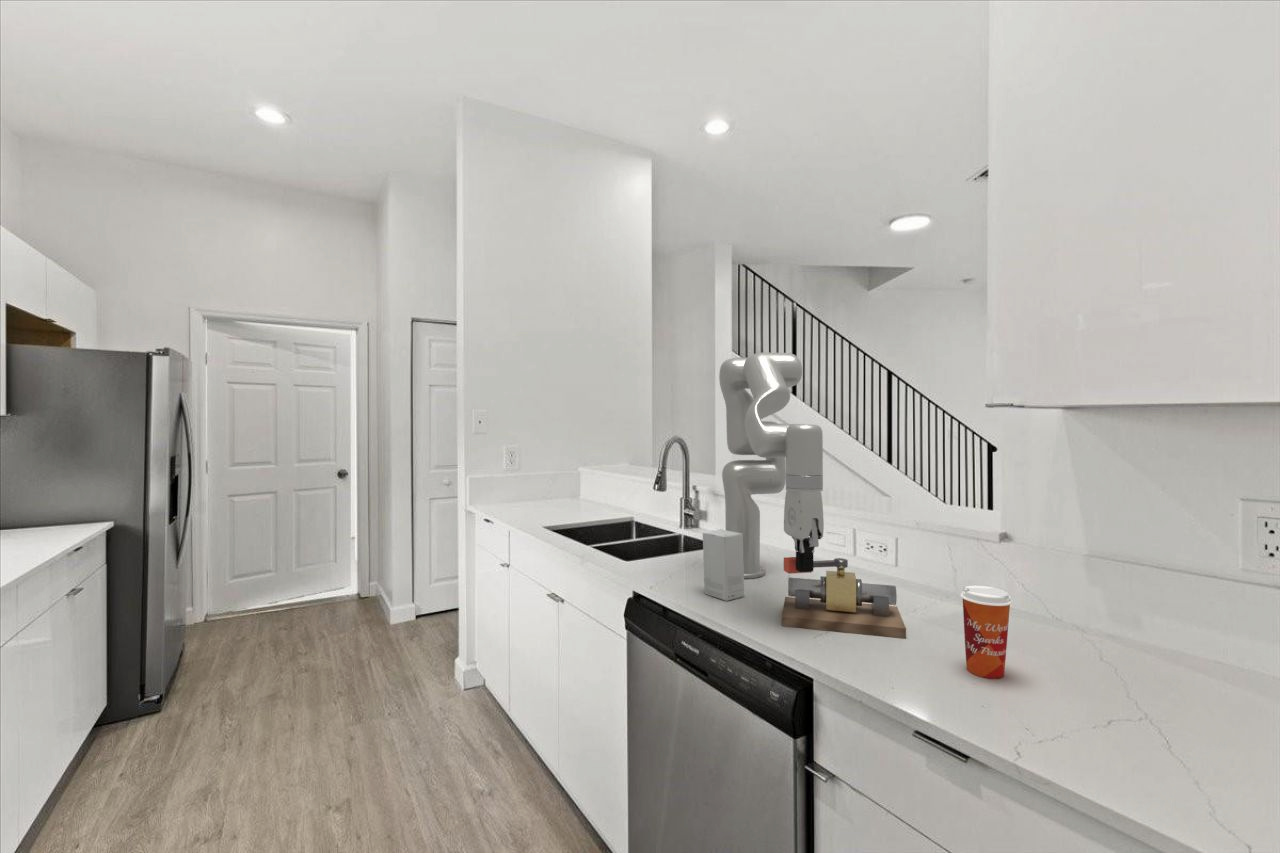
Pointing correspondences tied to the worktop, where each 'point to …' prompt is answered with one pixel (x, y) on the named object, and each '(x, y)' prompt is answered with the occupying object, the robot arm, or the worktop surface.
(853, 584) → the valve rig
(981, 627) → the paper cup
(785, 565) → the valve lever
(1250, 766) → the worktop surface
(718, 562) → the skincare box
